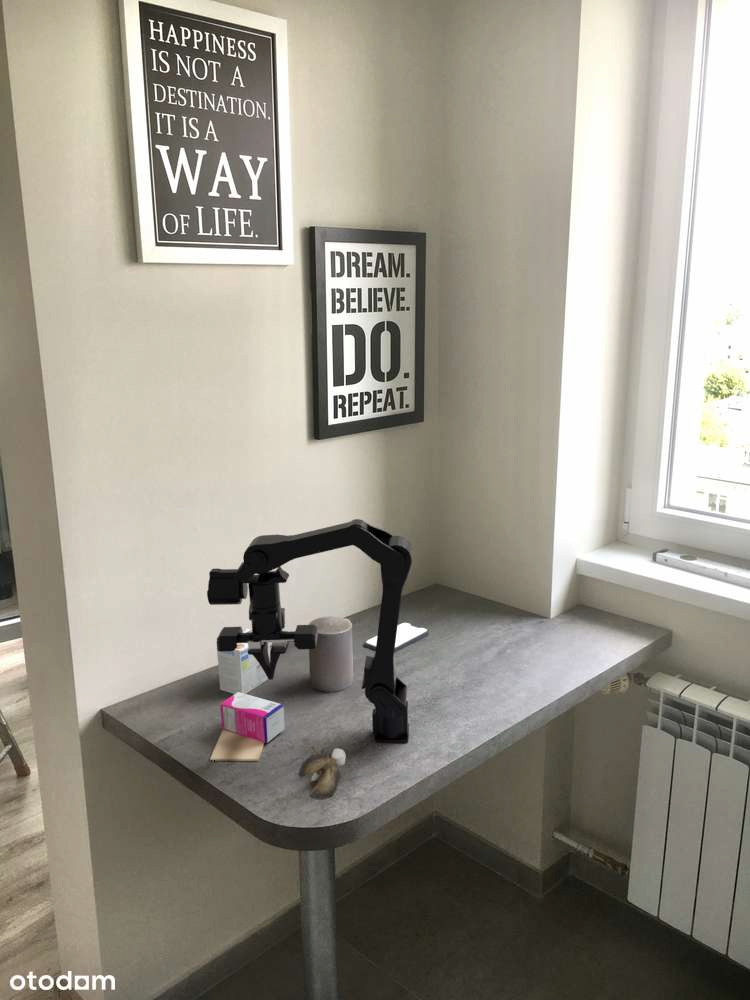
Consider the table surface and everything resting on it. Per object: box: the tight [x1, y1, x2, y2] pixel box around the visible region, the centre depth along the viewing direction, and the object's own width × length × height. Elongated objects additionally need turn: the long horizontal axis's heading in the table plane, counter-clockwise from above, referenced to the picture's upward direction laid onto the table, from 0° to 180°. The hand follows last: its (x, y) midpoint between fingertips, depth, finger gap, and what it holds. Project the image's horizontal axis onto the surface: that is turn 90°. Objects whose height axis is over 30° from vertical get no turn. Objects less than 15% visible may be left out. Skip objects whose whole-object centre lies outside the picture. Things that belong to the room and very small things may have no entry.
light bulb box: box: [216, 628, 271, 695], centre depth 184 cm, size 11×7×11 cm, turn 149°
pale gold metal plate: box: [209, 729, 266, 762], centre depth 162 cm, size 9×14×1 cm, turn 177°
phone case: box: [363, 622, 430, 654], centre depth 207 cm, size 9×2×16 cm
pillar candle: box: [308, 615, 354, 693], centre depth 184 cm, size 10×10×15 cm
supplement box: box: [219, 692, 286, 744], centre depth 164 cm, size 6×6×12 cm
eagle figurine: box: [297, 744, 347, 801], centre depth 147 cm, size 8×7×9 cm
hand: (271, 678), depth 162 cm, fingers closed
